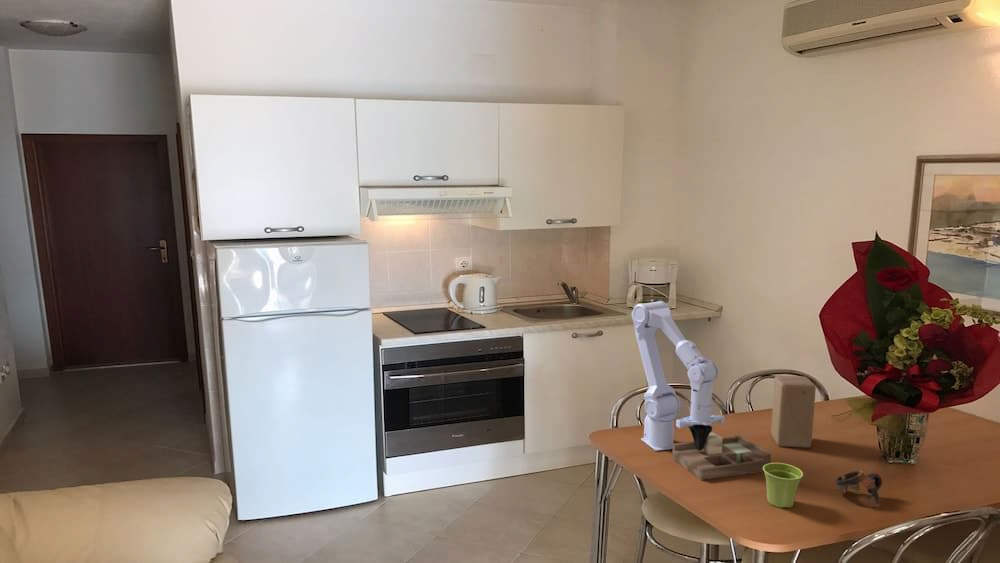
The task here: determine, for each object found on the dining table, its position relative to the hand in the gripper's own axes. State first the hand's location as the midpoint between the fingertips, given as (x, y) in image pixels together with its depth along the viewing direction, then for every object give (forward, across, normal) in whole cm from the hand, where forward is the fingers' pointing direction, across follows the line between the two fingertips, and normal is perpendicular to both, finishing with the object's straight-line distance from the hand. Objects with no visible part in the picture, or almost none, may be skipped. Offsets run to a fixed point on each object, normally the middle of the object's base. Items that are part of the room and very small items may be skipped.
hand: (698, 448), depth 199 cm
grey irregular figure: (+4, +28, -31) cm, 42 cm away
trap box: (+4, +5, -3) cm, 7 cm away
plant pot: (+4, +6, -28) cm, 29 cm away
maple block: (+1, +4, 0) cm, 4 cm away
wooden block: (+4, +36, +6) cm, 37 cm away
